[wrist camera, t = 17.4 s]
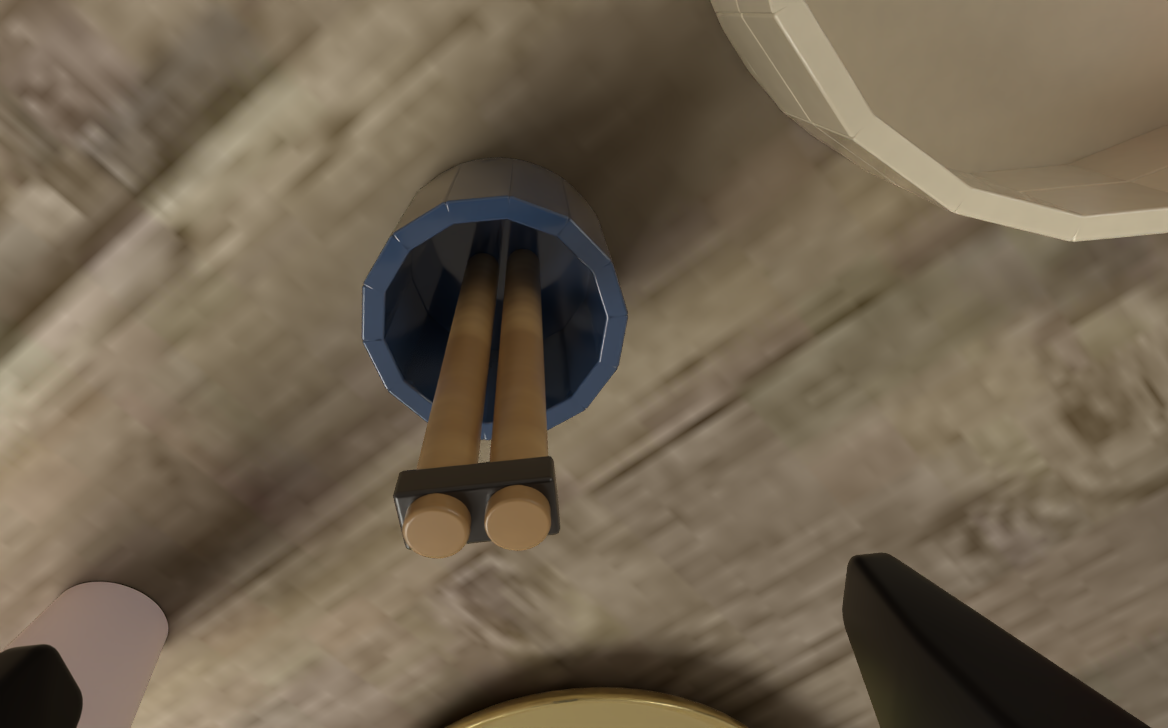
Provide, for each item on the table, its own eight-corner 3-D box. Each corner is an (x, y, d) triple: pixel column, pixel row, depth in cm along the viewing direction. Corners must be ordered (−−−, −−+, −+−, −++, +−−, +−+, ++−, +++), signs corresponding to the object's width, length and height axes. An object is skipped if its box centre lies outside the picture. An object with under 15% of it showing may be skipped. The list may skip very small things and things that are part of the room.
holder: (613, 347, 21) (634, 426, 17) (414, 367, 21) (387, 451, 17) (601, 147, 18) (621, 184, 14) (373, 167, 18) (330, 211, 14)
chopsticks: (544, 279, 20) (561, 549, 10) (465, 287, 19) (401, 567, 10) (541, 244, 19) (555, 491, 9) (460, 252, 19) (386, 509, 9)
